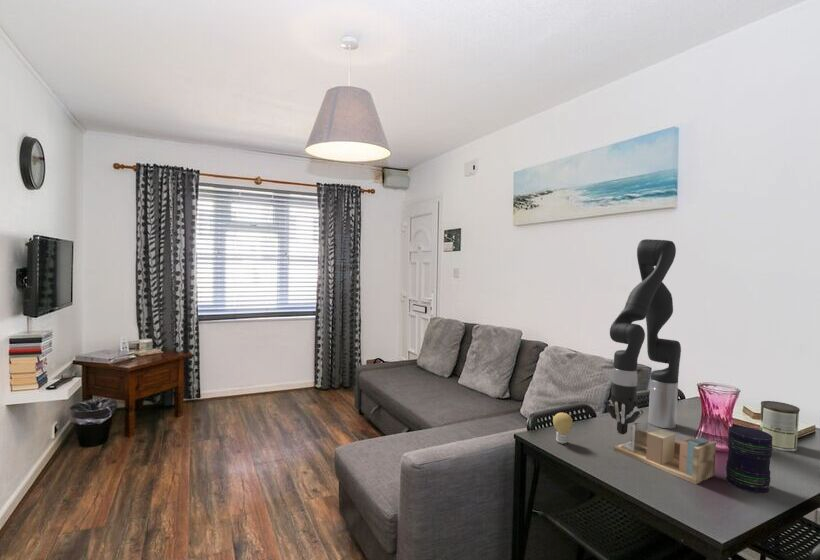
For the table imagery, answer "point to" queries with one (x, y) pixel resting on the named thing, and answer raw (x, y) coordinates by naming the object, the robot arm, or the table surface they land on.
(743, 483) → the storage jar
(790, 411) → the coffee can
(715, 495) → the table surface
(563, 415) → the light bulb
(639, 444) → the bookend
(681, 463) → the rack
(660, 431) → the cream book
